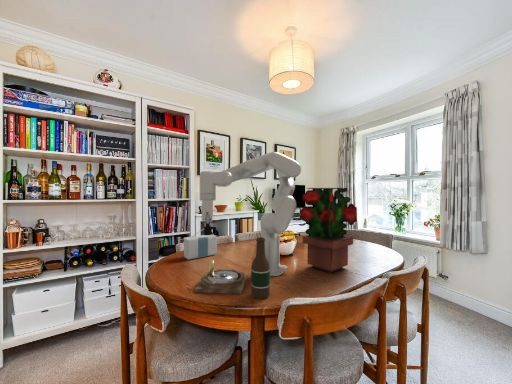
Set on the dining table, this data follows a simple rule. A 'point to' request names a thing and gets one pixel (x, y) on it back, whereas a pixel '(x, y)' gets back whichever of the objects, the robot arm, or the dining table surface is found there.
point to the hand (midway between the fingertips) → (207, 233)
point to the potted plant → (327, 227)
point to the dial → (220, 275)
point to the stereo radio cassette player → (200, 246)
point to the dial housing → (222, 284)
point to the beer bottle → (260, 272)
